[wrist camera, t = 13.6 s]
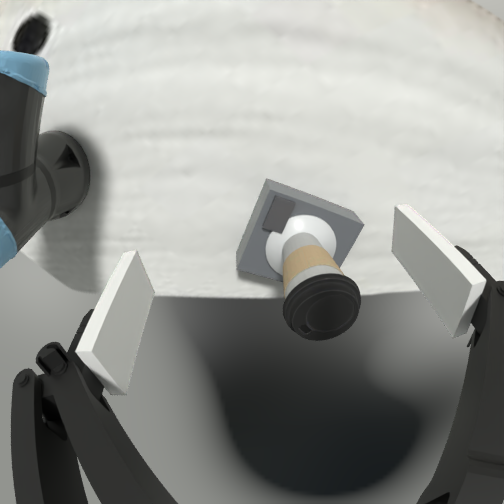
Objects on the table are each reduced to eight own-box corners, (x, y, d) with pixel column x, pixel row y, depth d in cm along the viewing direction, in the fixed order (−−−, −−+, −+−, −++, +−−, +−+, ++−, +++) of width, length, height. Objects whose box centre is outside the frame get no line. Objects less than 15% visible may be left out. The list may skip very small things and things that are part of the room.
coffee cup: (261, 263, 46) (270, 336, 34) (288, 211, 42) (312, 273, 29) (313, 281, 49) (336, 350, 36) (342, 234, 44) (380, 297, 31)
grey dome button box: (236, 252, 52) (236, 273, 46) (266, 178, 45) (270, 191, 40) (317, 276, 55) (325, 296, 50) (353, 211, 49) (366, 227, 43)
